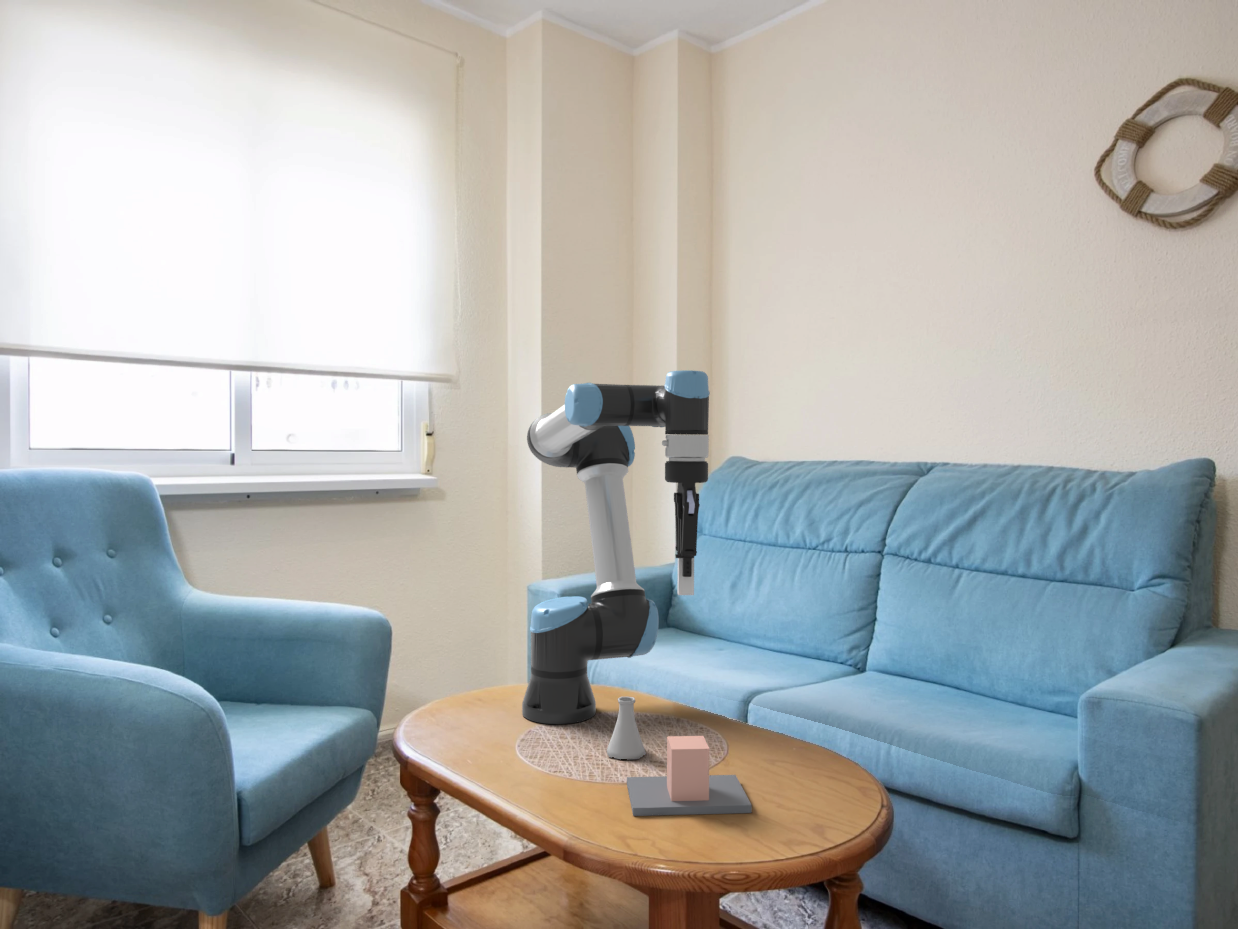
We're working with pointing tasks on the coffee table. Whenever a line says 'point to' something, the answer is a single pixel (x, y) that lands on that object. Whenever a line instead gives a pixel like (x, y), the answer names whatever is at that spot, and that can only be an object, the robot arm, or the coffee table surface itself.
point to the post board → (655, 800)
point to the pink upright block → (687, 768)
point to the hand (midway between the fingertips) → (685, 594)
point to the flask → (626, 733)
